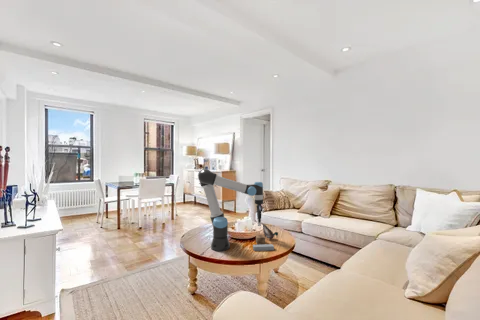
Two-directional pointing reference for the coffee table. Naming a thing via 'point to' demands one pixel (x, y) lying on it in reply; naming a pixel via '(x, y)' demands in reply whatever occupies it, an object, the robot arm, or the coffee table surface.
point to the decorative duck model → (268, 232)
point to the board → (263, 247)
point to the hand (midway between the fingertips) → (259, 225)
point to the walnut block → (260, 239)
